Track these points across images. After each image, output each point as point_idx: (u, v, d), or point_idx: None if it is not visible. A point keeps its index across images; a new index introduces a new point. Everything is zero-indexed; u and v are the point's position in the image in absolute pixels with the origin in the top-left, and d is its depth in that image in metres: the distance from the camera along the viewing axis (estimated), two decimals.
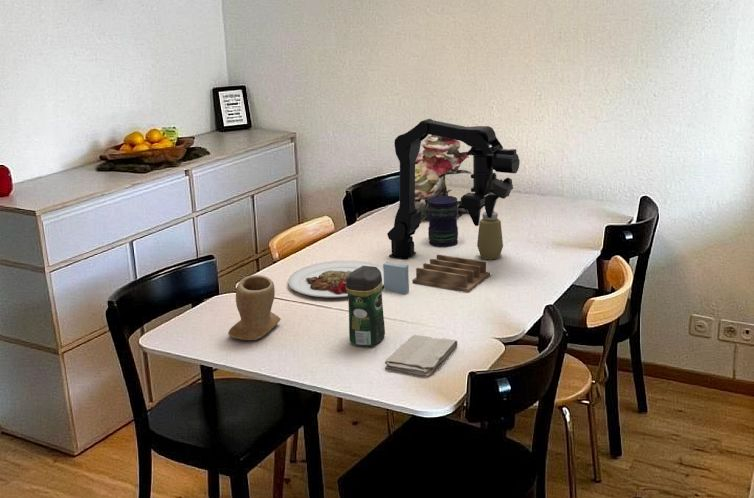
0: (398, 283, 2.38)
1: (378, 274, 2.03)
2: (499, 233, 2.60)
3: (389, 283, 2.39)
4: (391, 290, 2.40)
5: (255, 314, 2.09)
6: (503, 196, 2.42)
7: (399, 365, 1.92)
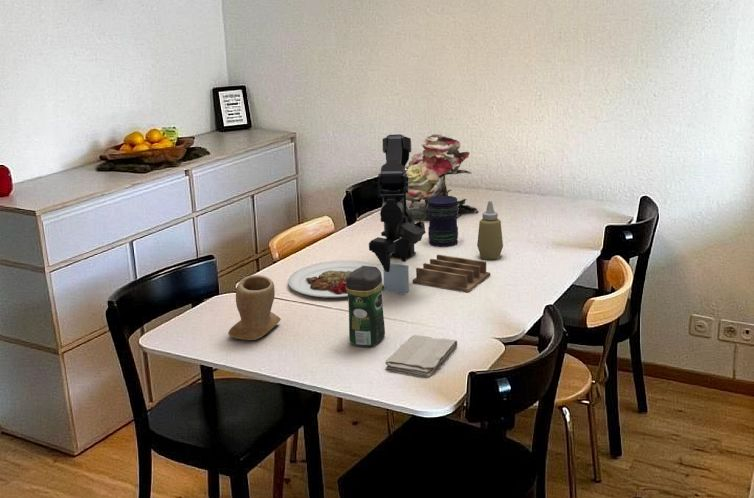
0: (398, 283, 2.38)
1: (378, 274, 2.03)
2: (499, 233, 2.60)
3: (389, 283, 2.39)
4: (391, 290, 2.40)
5: (255, 314, 2.09)
6: (413, 241, 2.29)
7: (400, 366, 1.92)
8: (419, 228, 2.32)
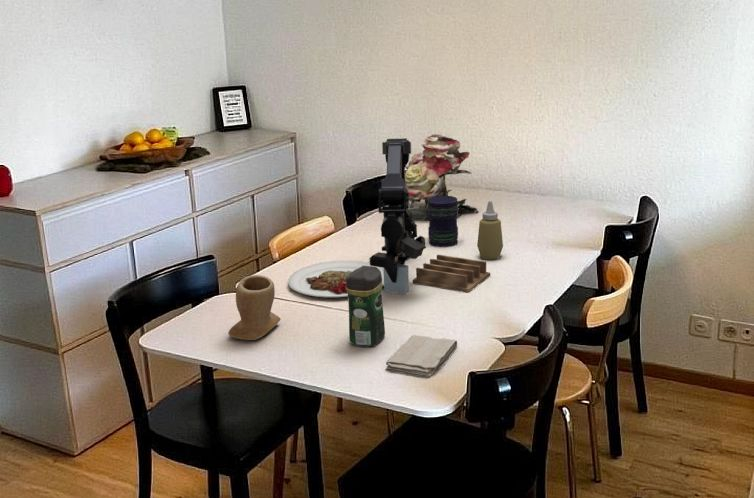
0: (398, 282, 2.38)
1: (378, 274, 2.03)
2: (499, 233, 2.60)
3: (389, 283, 2.39)
4: (391, 290, 2.40)
5: (255, 314, 2.09)
6: (414, 256, 2.31)
7: (400, 366, 1.91)
8: (419, 243, 2.33)
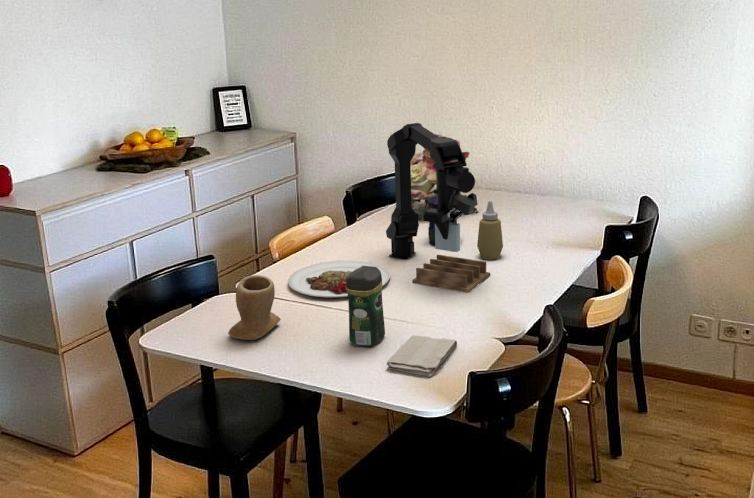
0: (450, 241, 2.41)
1: (378, 274, 2.03)
2: (499, 233, 2.60)
3: (441, 242, 2.43)
4: (442, 248, 2.43)
5: (255, 314, 2.09)
6: (466, 212, 2.34)
7: (401, 366, 1.91)
8: (471, 200, 2.36)
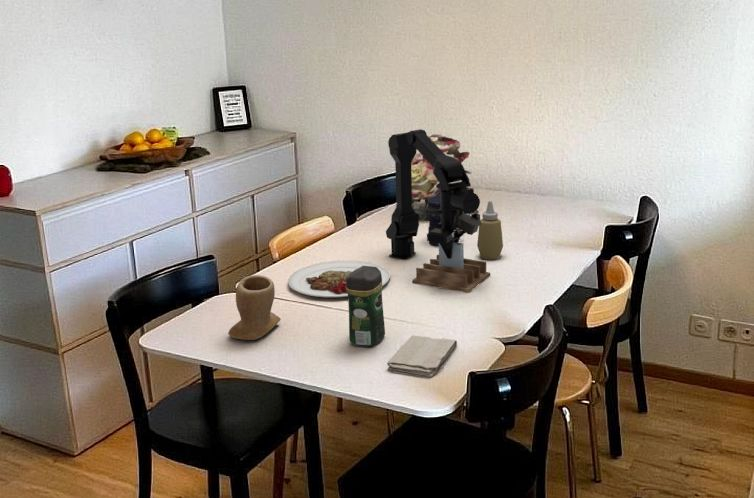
0: (453, 260, 2.44)
1: (378, 274, 2.03)
2: (499, 233, 2.60)
3: (444, 261, 2.45)
4: None
5: (255, 314, 2.09)
6: (470, 232, 2.37)
7: (402, 366, 1.91)
8: (475, 219, 2.39)
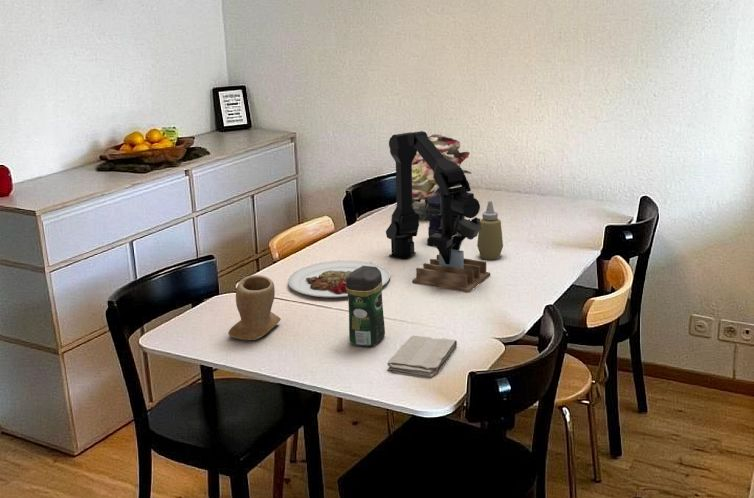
0: None
1: (378, 274, 2.03)
2: (499, 233, 2.60)
3: None
4: None
5: (255, 314, 2.09)
6: (470, 237, 2.37)
7: (402, 366, 1.91)
8: (475, 224, 2.39)
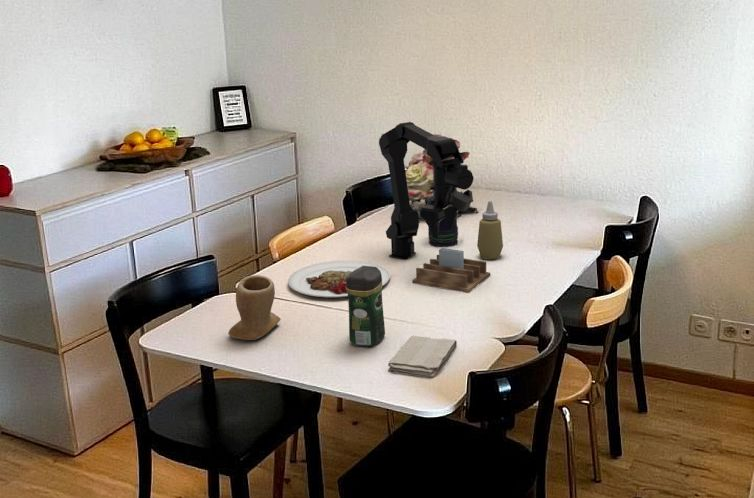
0: None
1: (378, 274, 2.03)
2: (499, 233, 2.60)
3: None
4: None
5: (255, 314, 2.09)
6: (462, 209, 2.40)
7: (403, 367, 1.91)
8: (467, 196, 2.42)
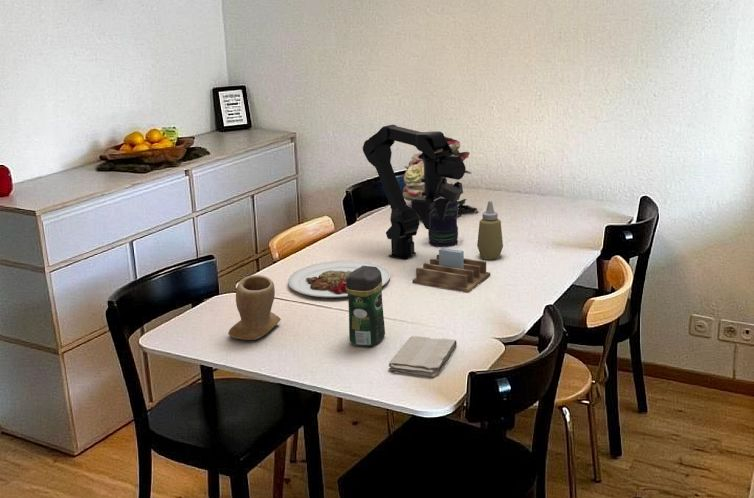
0: None
1: (378, 274, 2.03)
2: (499, 233, 2.60)
3: None
4: None
5: (255, 314, 2.09)
6: (452, 200, 2.47)
7: (403, 367, 1.91)
8: (457, 188, 2.49)
